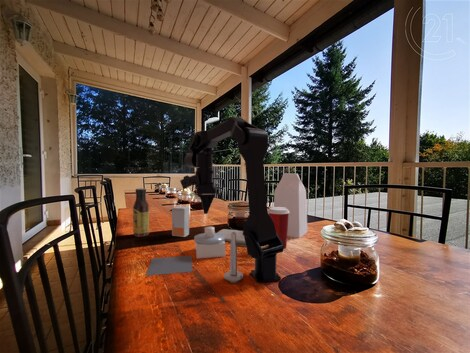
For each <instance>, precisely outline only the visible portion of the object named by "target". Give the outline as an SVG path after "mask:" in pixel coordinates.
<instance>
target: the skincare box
mask: <svg viewBox="0 0 470 353" xmlns="http://www.w3.org/2000/svg"><path fill="white" fill-rule="evenodd" d="M171 235H172V237H181V238H185V237H188V235H190V206H173V207H171Z"/></svg>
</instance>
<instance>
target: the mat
mask: <svg viewBox="0 0 470 353" xmlns="http://www.w3.org/2000/svg"><path fill="white" fill-rule="evenodd" d="M192 259H193V258H192V255H183V256H182V255H181V256H180V255H179V256H169V257H168V256H166V257H153V258H151V260H150V262H149V263H150V264H149V265H148V268H147V271H146V274H145V276H147V277H149V276H157V275H159V276H160V275H169V274H180V273H181V274H183V273H184V274H185V273H192V272H193V260H192Z"/></svg>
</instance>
